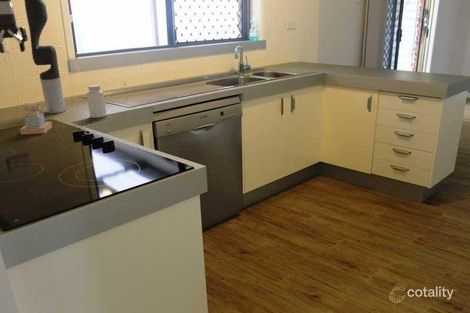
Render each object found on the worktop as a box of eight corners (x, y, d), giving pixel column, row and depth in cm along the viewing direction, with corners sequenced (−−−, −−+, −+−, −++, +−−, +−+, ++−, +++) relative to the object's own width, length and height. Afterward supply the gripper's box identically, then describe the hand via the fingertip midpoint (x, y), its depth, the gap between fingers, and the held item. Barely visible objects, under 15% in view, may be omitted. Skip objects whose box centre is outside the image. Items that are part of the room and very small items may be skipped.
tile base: (29, 128, 189) (28, 122, 188) (52, 126, 189) (51, 121, 188) (20, 134, 179) (19, 129, 178) (44, 133, 180) (43, 127, 179)
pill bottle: (108, 113, 209) (104, 83, 204) (104, 117, 202) (99, 87, 196) (92, 114, 209) (88, 84, 204) (87, 118, 201) (82, 87, 196)
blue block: (31, 123, 186) (29, 113, 184) (45, 123, 186) (43, 113, 185) (26, 127, 180) (24, 117, 179) (40, 126, 181) (38, 116, 179)
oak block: (30, 114, 184) (27, 103, 182) (41, 113, 184) (39, 102, 183) (25, 117, 179) (23, 105, 178) (37, 116, 180) (35, 105, 178)
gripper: (24, 12, 181) (32, 50, 187) (-9, 13, 180) (-1, 52, 186) (17, 12, 174) (25, 52, 180) (-18, 14, 173) (-9, 53, 179)
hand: (12, 52), depth 183 cm, fingers open, 8 cm apart
